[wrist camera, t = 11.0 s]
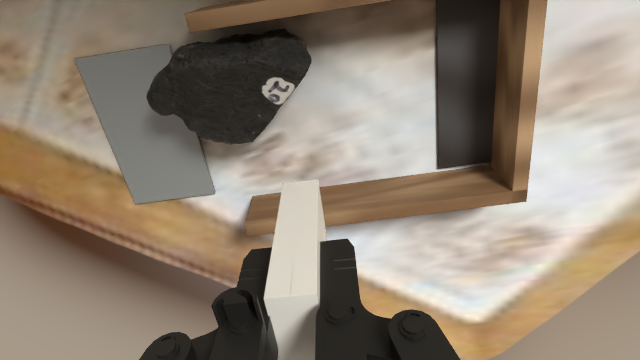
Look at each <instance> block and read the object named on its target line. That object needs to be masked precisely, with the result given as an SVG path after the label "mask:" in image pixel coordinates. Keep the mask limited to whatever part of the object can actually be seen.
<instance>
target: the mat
mask: <svg viewBox="0 0 640 360" xmlns="http://www.w3.org/2000/svg"><path fill="white" fill-rule="evenodd" d="M172 55H173V54H172V50H171V47H170V44H164V45H157V46H151V47H145V48H139V49H132V50H126V51H120V52H114V53H107V54H101V55H95V56H89V57H82V58H76V59H74V61H75V63H76V65H77V68H78V70H79V72H80V75H81V77H82V79H83V82H84V84H85V86H86V89H87V91H88V94H89V96H90V98H91V101H92V103H93V105H94V108H95V110H96V112H97V115H98V117H99V120H100V122H101V124H102V127H103V129H104V131H105V134H106V136H107V138H108V141H109V143H110V145H111V148H112V150H113V153H114V155H115V157H116V160H117V162H118V164H119V167H120V169H121V171H122V174H123V176H124V179H125V181H126V183H127V186H128V188H129V190H130V193H131V195H132V197H133V200H134V202H135V204H140V203H148V202H155V201H163V200H170V199H178V198H185V197H193V196H201V195H208V194H215V189H214V186H213V183H212V179H211V176H210V173H209V170H208V166H207V163H206V160H205V157H204V154H203V150H202V147H201V144H200V141H199V137H198V135H197V133H196V132H193V131H190V130H189V129H188V128H187V126H186V125H185V123H184V121H183V120H182V119H181V118H180V117H178V116H176V115H174V114H172V115H169V116H161V115H160V114H158V113H156V112H155V111H154V110H153V109H152V108H151V107H150V105H149V104H148V101H147V98H146V96H147V92H148V90H149V89H150V86H151V83H152V81H153V79H154V77H155V76H156V74H157V73H158V72H159V71H161V70H162V69H163V68H164V67H166V66H167V65H168V63H169V62H170V59H171V57H172Z"/></svg>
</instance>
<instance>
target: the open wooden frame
mask: <svg viewBox="0 0 640 360" xmlns="http://www.w3.org/2000/svg"><path fill="white" fill-rule="evenodd" d="M384 1H390V0H247V1H241V2H235V3H229V4H223V5H217V6H210V7H204V8H201V9H198V10H195V11H192V12H189V13H186V14H185V17H186V20H187V24H188V27H189V31H190V33H191V32H198V31H204V30H210V29H216V28H222V27H229V26H235V25H241V24H247V23H253V22H260V21H266V20H272V19H278V18H284V17H291V16H297V15H303V14H309V13H316V12H322V11H328V10H334V9H340V8H347V7H353V6H359V5H365V4H371V3H378V2H384ZM546 8H547V0H436V11H437V90H438V167H439V169H440V168H447V167H455V166H462V165H470V164H477V163H485V162H490V165H487V166H479V167H471V168H464V169H456V170H449V171H441V172H433V173H426V174H418V175H411V176H403V177H395V178H388V179H380V180H373V181H365V182H357V183H350V184H342V185H335V186H327V187H319V188H320V195H321V202H322V208H323V215H324V221H325V227H326V226H334V225H342V224H350V223H358V222H366V221H374V220H382V219H390V218H398V217H406V216H414V215H422V214H430V213H438V212H446V211H454V210H462V209H470V208H478V207H486V206H494V205H502V204H510V203H518V202H526V199H527V189H528V180H529V170H530V161H531V151H532V142H533V132H534V123H535V113H536V103H537V94H538V84H539V75H540V65H541V56H542V46H543V37H544V27H545V18H546ZM280 198H281V193H274V194H266V195H259V196H253V198H252V201H251V205H250V208H249V212H248V215H247V219H246V222H245V228H246V232H247V235H248V236H254V235H262V234H270V233H275V228H276V222H277V216H278V210H279V204H280Z"/></svg>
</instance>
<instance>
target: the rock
mask: <svg viewBox="0 0 640 360" xmlns="http://www.w3.org/2000/svg"><path fill="white" fill-rule="evenodd" d="M310 64H311V56H310V55H309V53H308V51H307V49H306V44H305V43H304V42H303V41H302V40H301V39H300V38H299V37H298V36H295V35H292V34H290V33H289V32H288V31H287V30H286V29H283V28H282V29H277V30H272V31H269V32H268V33H266V34H262V35H252V34H244V35H232V36H230V37H226V38H222V39H219V40H218V41H216V42H213V43H211V42H204V43H202V42H196V43H191V44H187V45H185V46H181V47H180V48H178V49H177V50H176V52H175V53H174V54H173V55H172V57H171V59H170V62H169V63H168V65H167V66H166V67H164V68H163V69H162V70H161V71H159V72H158V73H157V74H156V76H155V77H154V79H153V81H152V83H151V86H150V89H149V90H148V92H147V96H146V98H147V101H148V104H149V105H150V107H151V108H152V109H153V110H154V111H155V112H156V113H158V114H160V115H161V116H169V115H172V114H174V115H176V116H178V117H180V118H181V119H182V120H183V121H184V123H185V125H186V126H187V128H188V129H189V130H190V131H193V132H196V133H197V135H198V136H200V137H202V138H205V139H210V140H212V141H214V142H223V143H225V144H235V143H237V144H241V143H248V142H253V141H254V140H255V138H256V137H257V136H258V135H259V134H260V133H261V132H262V131H263V130H264V129H265V128H266V126H267V125H268V124H269V123H270V122H271V120H272V119H273V118H274V116H275V115H276V113H277V111H278V109H279V108H280V107H281V105H282V104H283V103H284V102H285V101H286V100H287V99H288V98H289V96H290V95H291V93H292V92H293V90H294V89H295V88H296V87H297V86H298V85H299V83H300V82H301V80H302V79H303V78H304V76H305V75H306V73H307V71H308V69H309V66H310Z"/></svg>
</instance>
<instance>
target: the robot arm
mask: <svg viewBox="0 0 640 360" xmlns="http://www.w3.org/2000/svg"><path fill="white" fill-rule="evenodd" d="M212 309H213V312H214V315H215V317H216V320H217V323H218V325H219V327H218V328H217V329H216V330H214V331H212V332H210V333H208V334H206V335H203V336H200V337H197V338H195V339H192V340H190V338H189V337H188V336H187V335H186V334H184V333H181V332H173V333H168V334H166V335H163V336H161V337H159V338H158V339H156V340H155V341H153V343H152V344H151V345H150V346H149V347H148V348H147V349H146V351H145V352H144V354H143V355H142V356H141V358H140V359H139V360H277V358H278V354H279V358H280V360H460V358H459V357H458V355H457V354H456V352H455V351H454V349H453V348H452V346H451V344H450V343H449V341H448V340H447V338H446V337H445V335H444V334H443V332H442V330H441V329H440V327H439V326H438V324H437V323H436V321H435V320H434V319H433V318H432V317H431V316H430V315H428V314H426V313H424V312H422V311H418V310H404V311H401V312H399V313H397V314H395V315H394V316H393V317H392V319H389V318H384V317H380V316H376V315H374V314H372V313H370V312H369V311H367V310H366V309H365V308H364V306H363V305H362V303H361V300H360V294H359V285H358V277H357V268H356V259H355V251H354V246H353V245H352V244H351V243H350V241H349V240H348V239H340V240H330V241H326V228H325V221H324V215H323V208H322V202H321V195H320V188H319V182H318V179H317V180H308V181H299V182H290V183H283V186H282V192H281V198H280V204H279V210H278V216H277V222H276V228H275V234H274V240H273V246H272V247H271V248H262V249H252V250H251V251H250V252H249V253H248V255H247V256H246V257H245V258H244V260H243V264H242V268H241V272H240V276H239V281H238V284H237V287H235V288H231V289H228V290H226V291H224V292H223V293H221V294H220V295H219V296H218V297H217V298H216V299H215V300H214V302H213V304H212Z"/></svg>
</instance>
